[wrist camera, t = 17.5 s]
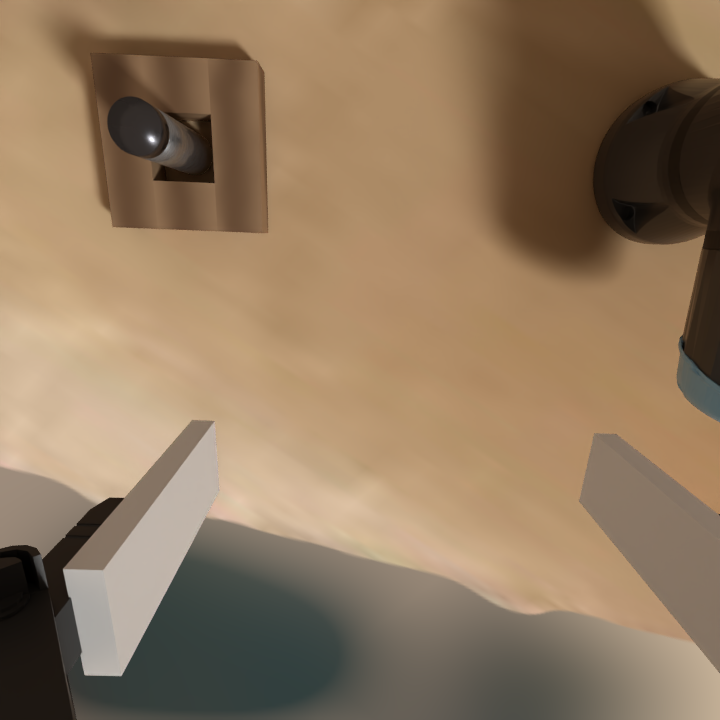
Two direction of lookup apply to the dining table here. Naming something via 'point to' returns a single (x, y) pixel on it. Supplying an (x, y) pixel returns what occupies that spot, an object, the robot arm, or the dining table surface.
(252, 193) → the socket block
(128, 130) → the grey and black cylinder
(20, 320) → the dining table surface
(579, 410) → the dining table surface
